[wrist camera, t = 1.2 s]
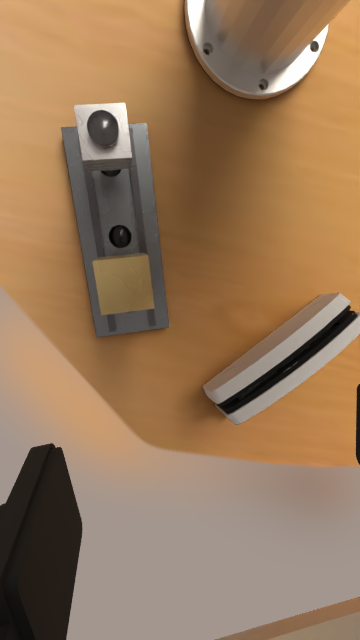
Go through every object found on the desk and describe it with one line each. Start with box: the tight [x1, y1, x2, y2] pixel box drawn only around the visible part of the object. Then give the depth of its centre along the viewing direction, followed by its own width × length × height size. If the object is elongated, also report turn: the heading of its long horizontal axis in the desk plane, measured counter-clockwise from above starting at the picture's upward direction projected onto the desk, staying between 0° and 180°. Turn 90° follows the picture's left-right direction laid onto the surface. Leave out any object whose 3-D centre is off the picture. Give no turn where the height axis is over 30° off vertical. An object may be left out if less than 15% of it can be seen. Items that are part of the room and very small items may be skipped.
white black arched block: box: [202, 293, 360, 425], centre depth 32 cm, size 17×5×10 cm, turn 126°
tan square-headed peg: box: [92, 253, 155, 315], centre depth 24 cm, size 3×3×11 cm
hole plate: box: [61, 103, 169, 337], centre depth 25 cm, size 18×7×10 cm, turn 5°
